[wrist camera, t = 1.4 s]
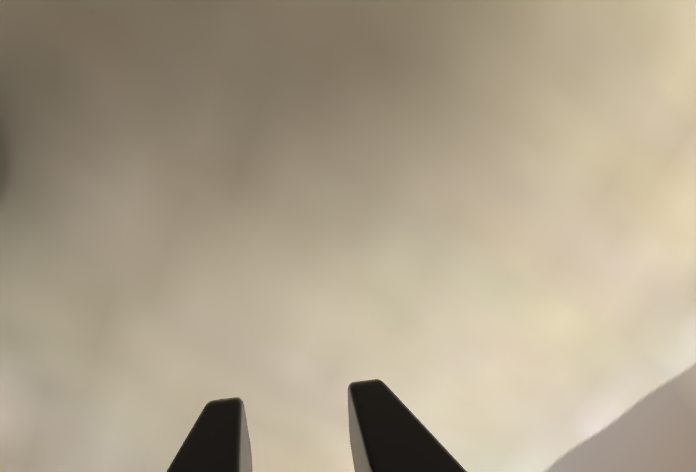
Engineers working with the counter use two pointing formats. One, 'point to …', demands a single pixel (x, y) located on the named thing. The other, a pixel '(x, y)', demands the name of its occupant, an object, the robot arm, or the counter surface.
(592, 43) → the counter surface
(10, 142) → the counter surface
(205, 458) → the robot arm
